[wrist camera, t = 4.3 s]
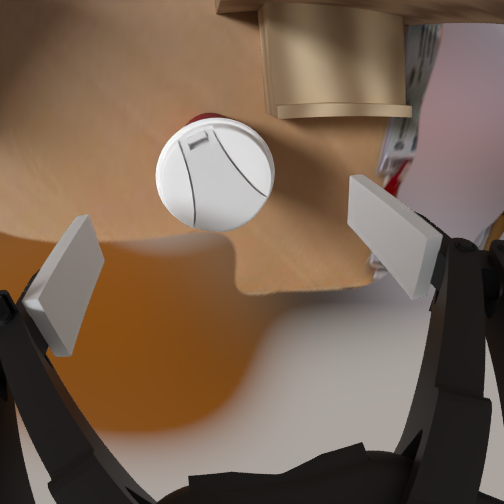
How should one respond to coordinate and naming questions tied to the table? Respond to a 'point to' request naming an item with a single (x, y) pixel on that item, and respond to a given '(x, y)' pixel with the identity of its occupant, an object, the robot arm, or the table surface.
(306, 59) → the board
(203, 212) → the paper cup
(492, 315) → the robot arm
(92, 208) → the table surface
